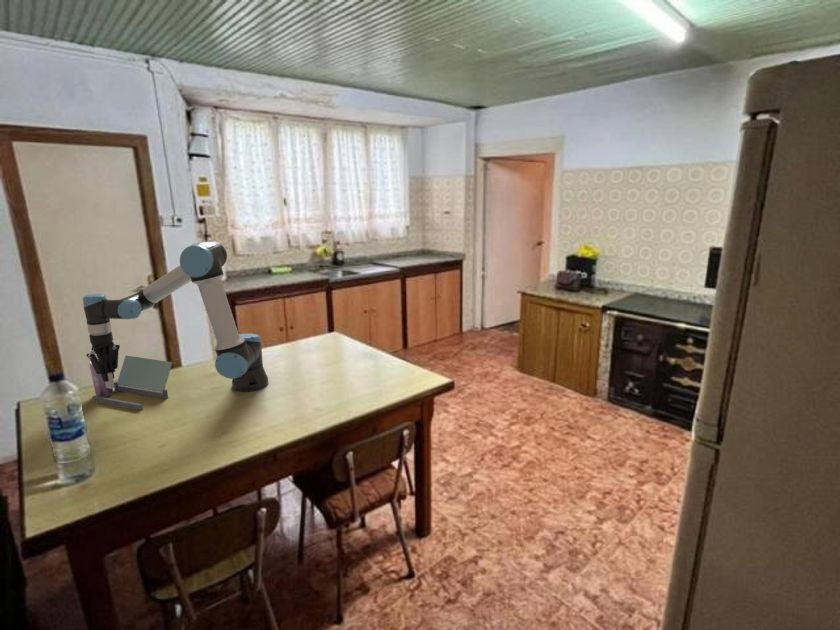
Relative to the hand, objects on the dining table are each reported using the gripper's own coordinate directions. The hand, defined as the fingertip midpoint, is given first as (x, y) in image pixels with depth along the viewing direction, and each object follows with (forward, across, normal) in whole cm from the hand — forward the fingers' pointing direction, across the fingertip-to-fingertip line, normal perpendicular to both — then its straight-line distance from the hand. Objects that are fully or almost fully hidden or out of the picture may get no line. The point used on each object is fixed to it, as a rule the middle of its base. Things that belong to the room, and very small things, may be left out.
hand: (110, 387), depth 187 cm
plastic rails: (+4, 0, +9) cm, 10 cm away
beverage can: (+4, 0, -4) cm, 6 cm away
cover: (-4, -8, +9) cm, 13 cm away
